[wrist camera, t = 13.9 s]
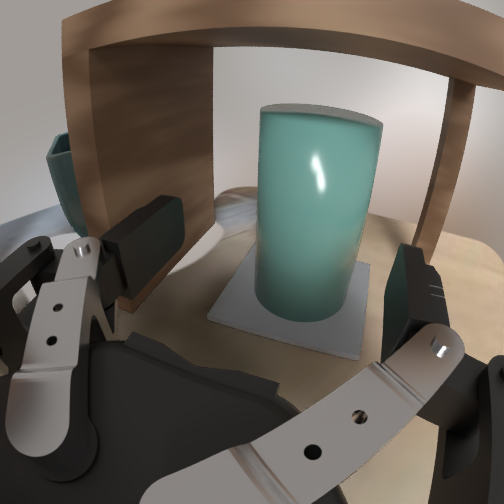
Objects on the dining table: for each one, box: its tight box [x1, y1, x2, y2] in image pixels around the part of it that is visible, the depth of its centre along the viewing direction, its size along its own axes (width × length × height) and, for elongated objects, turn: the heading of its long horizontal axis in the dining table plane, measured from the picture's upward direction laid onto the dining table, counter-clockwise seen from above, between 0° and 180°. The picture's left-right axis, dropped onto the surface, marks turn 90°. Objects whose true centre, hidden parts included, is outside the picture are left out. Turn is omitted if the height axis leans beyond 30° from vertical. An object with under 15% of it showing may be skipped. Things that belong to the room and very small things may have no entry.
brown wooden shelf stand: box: [62, 0, 504, 313], centre depth 16 cm, size 20×12×17 cm, turn 70°
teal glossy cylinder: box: [254, 104, 383, 322], centre depth 17 cm, size 6×6×11 cm
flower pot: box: [46, 132, 89, 238], centre depth 24 cm, size 9×9×9 cm
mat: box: [207, 242, 370, 361], centre depth 20 cm, size 9×9×1 cm
